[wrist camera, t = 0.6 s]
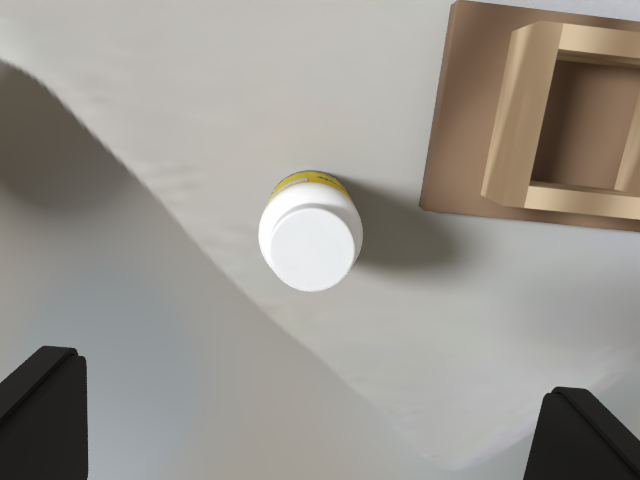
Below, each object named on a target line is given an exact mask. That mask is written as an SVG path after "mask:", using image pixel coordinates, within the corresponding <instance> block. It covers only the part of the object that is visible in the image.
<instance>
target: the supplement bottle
mask: <svg viewBox="0 0 640 480" xmlns="http://www.w3.org/2000/svg"><path fill="white" fill-rule="evenodd" d="M362 242H363V227H362V223H361V218H360V216H359V213H358V211H357V209H356V207H355V206H354V204H353V202H352V200H351V198H350V196H349V194H348V193H347V191H346V190H345V188H344V187H343V186H342V184H341V183H340V182H339V181H338V180H336V179H335V178H334V177H332V176H330V175H328V174H326V173H324V172H320V171H315V170H306V171H300V172H297V173H294V174H292V175H290V176H288V177H286V178H285V179H284V180H282V181H281V182H280V183H279V184H278V185H277V186H276V188H275V189H274V190H273V192H272V194H271V196H270V199H269V201H268V203H267V205H266V208H265V210H264V212H263V214H262V217H261V221H260V226H259V244H260V248H261V251H262V254H263V257H264V258H265V260H266V262H267V263H268V265H269V266H270V267H271V268H272V270H273V271H274V272H275V273H276V274H277V276H278V277H279V278H280V279H281V280H282V281H283V282H285V283H286V284H288V285H289V286H291V287H293V288H295V289H298V290H301V291H307V292H317V291H322V290H326V289H328V288H331V287H333V286H335V285H336V284H338V283H339V282H340V281H341V280H342V279H343V278H344V277H345V276H346V275H347V274H348V272H349V271H350V269H351V267H352V265H353V264H354V263H355V261H356V259H357V258H358V255H359V253H360V250H361V247H362Z"/></svg>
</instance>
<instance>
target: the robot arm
mask: <svg viewBox="0 0 640 480" xmlns="http://www.w3.org/2000/svg"><path fill="white" fill-rule="evenodd" d="M87 477H88V425H87V366H86V359H85V357H83V356H78V353H77V350H76V349H75V348H67V347H54V346H42V347H41V348H39V349H38V350H37V351H36V352H35V353H34V354H33V355H32V356H31V357H29V358H28V359H27V360H26V361H25V362H24V363H23V364H22V365H20V366H19V367H18V368H17V369H16V370H15V371H14V372H13V373H11V374H10V375H9V376H8V377H7V378H6V379H4V380H3V381H2V382H1V383H0V480H87ZM523 480H640V441H639V440H638V439H637V438H636V437H635V436H634V435H633V434H632V433H631V432H630V431H629V430H628V429H627V428H626V427H625V426H624V425H623V424H622V423H621V422H620V421H619V420H618V419H617V418H616V417H615V416H614V415H613V414H612V413H611V412H610V411H609V410H608V409H607V408H606V407H605V406H604V405H603V404H602V403H601V402H599V400H598V399H597V398H596V397H595V396H594V395H593V394H592V393H591V392H589V391H588V390H587V389H582V388H570V387H555V388H554V389H553V390H552V392H551V393H547V394H546V395H545V396H544V398H543V401H542V405H541V409H540V413H539V417H538V422H537V426H536V430H535V434H534V438H533V442H532V446H531V450H530V454H529V458H528V462H527V466H526V470H525V474H524V478H523Z"/></svg>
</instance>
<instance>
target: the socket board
mask: <svg viewBox="0 0 640 480" xmlns="http://www.w3.org/2000/svg"><path fill="white" fill-rule="evenodd" d="M419 206H420V207H421V208H422V209H423V210H425V211H435V212H445V213H455V214H465V215H475V216H485V217H495V218H505V219H515V220H525V221H535V222H545V223H555V224H565V225H575V226H585V227H595V228H605V229H616V230H626V231H636V232H640V22H637V21H629V20H621V19H613V18H605V17H597V16H588V15H580V14H572V13H564V12H556V11H548V10H540V9H531V8H523V7H515V6H507V5H499V4H491V3H482V2H474V1H466V0H458V1H456V2H455V3H454V4H452V5H451V9H450V15H449V22H448V28H447V34H446V41H445V47H444V53H443V59H442V66H441V72H440V78H439V84H438V91H437V97H436V103H435V109H434V116H433V122H432V128H431V135H430V141H429V147H428V153H427V160H426V166H425V172H424V178H423V185H422V191H421V197H420V204H419Z"/></svg>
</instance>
